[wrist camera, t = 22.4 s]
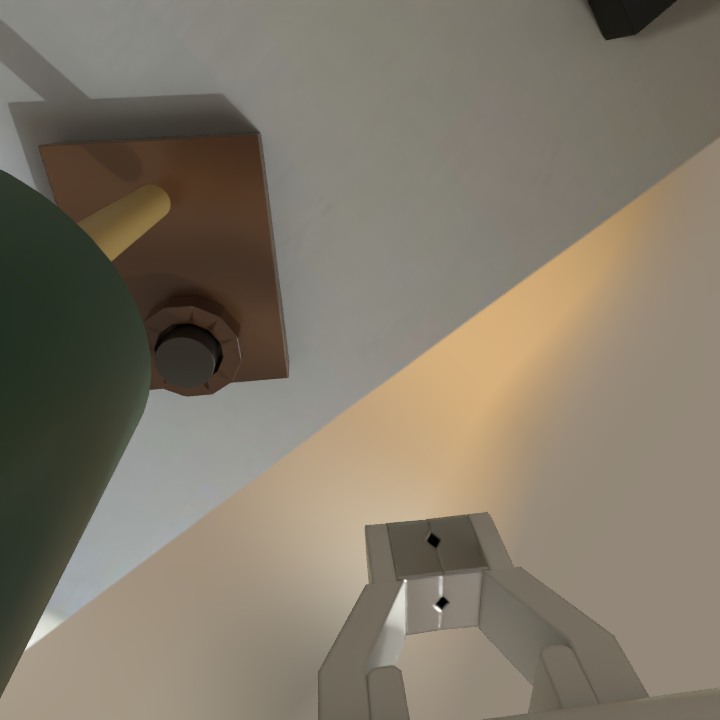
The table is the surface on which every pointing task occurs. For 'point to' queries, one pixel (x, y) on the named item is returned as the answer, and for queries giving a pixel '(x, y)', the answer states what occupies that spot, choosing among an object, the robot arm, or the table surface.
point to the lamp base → (190, 243)
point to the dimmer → (626, 15)
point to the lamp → (61, 386)
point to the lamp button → (186, 357)
